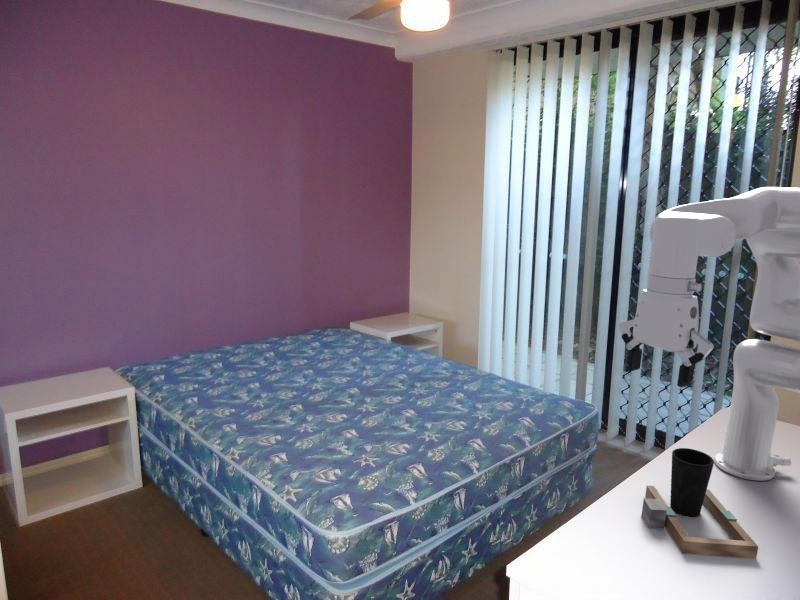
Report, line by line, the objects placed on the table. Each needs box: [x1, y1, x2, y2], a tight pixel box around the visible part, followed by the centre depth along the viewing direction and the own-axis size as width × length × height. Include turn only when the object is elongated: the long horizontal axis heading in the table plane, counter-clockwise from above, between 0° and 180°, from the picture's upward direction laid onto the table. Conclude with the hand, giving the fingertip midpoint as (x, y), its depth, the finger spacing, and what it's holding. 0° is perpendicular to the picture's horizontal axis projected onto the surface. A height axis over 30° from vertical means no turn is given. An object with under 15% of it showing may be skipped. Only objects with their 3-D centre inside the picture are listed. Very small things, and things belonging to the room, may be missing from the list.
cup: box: [669, 447, 715, 518], centre depth 118 cm, size 8×8×12 cm
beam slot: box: [641, 485, 759, 560], centre depth 114 cm, size 17×20×4 cm
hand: (657, 377), depth 105 cm, fingers open, 9 cm apart
